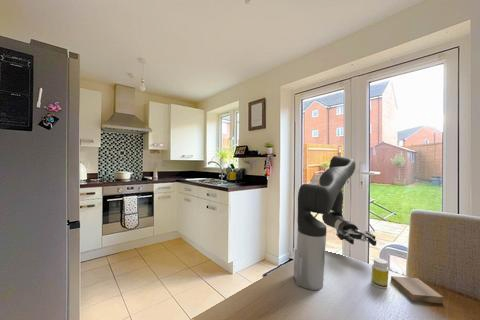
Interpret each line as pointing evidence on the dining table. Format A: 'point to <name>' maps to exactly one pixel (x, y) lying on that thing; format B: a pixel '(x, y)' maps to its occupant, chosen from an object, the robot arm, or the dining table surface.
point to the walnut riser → (416, 290)
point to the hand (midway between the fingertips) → (364, 242)
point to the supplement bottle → (379, 273)
